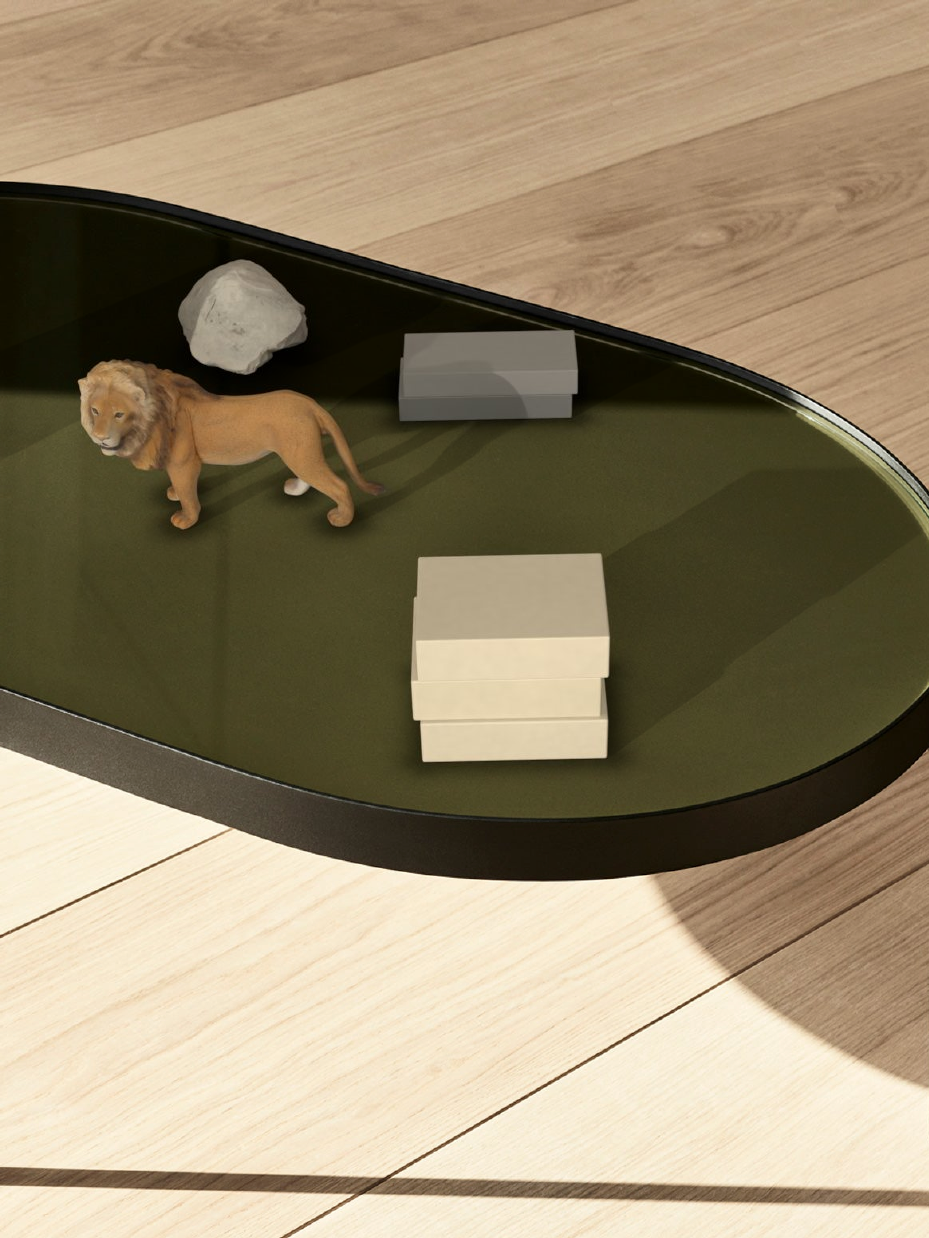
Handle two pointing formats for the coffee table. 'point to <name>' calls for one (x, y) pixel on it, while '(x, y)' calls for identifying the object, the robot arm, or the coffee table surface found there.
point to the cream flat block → (511, 617)
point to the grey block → (488, 375)
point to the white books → (509, 717)
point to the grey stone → (240, 317)
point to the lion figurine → (212, 433)
